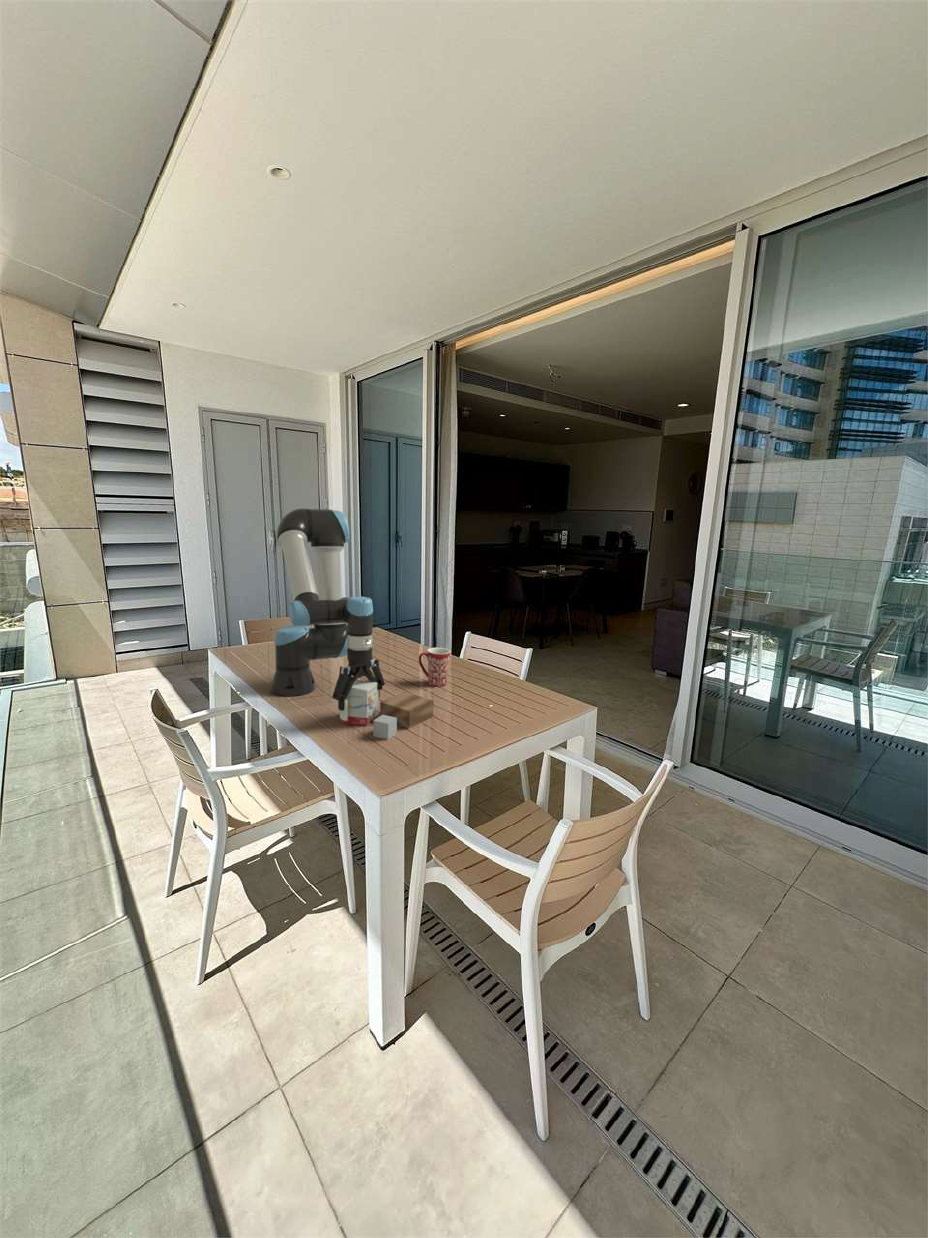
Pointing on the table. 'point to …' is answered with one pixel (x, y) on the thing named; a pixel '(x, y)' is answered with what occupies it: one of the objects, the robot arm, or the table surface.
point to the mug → (436, 666)
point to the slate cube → (385, 727)
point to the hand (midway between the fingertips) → (359, 713)
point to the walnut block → (407, 709)
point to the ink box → (362, 703)
